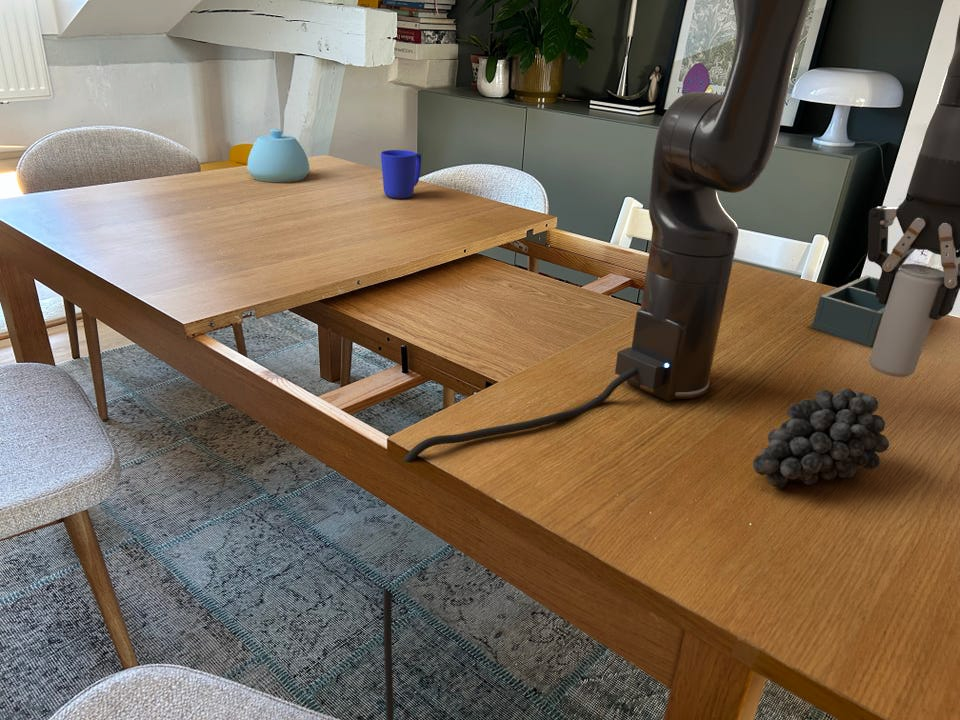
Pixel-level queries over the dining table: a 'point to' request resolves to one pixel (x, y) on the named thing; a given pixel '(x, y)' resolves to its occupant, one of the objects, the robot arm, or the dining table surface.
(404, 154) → the mug
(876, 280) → the divided storage box
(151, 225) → the dining table surface
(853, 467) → the fruit
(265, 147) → the sugar bowl
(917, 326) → the beverage can
